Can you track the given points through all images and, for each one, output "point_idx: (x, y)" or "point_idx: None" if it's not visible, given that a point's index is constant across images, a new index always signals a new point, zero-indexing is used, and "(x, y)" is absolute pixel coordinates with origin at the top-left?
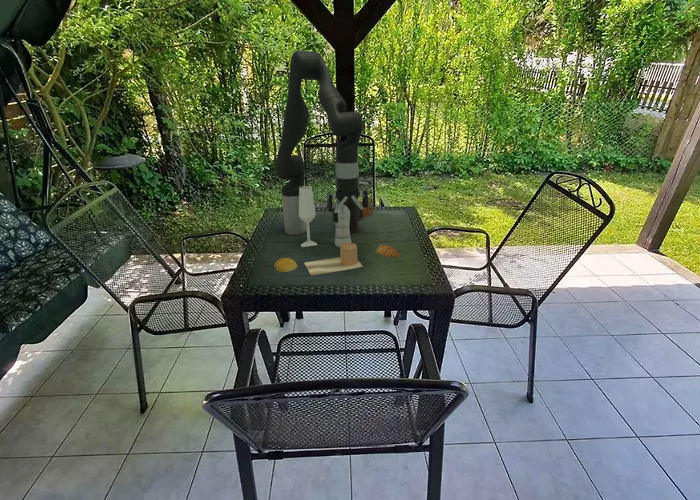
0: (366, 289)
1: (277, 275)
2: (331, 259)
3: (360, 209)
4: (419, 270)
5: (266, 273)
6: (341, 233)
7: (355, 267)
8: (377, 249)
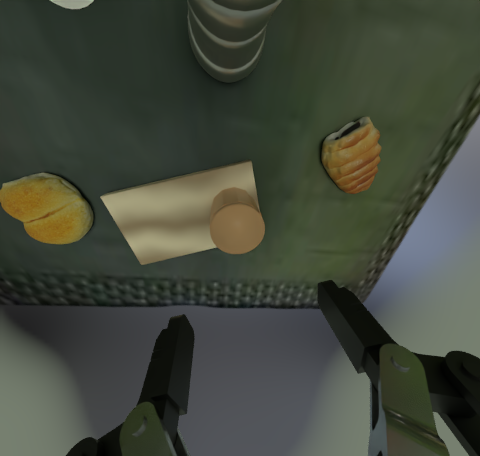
0: (251, 293)
1: None
2: (184, 186)
3: (371, 369)
4: (369, 240)
5: (7, 222)
6: (221, 53)
7: None
8: (331, 148)
